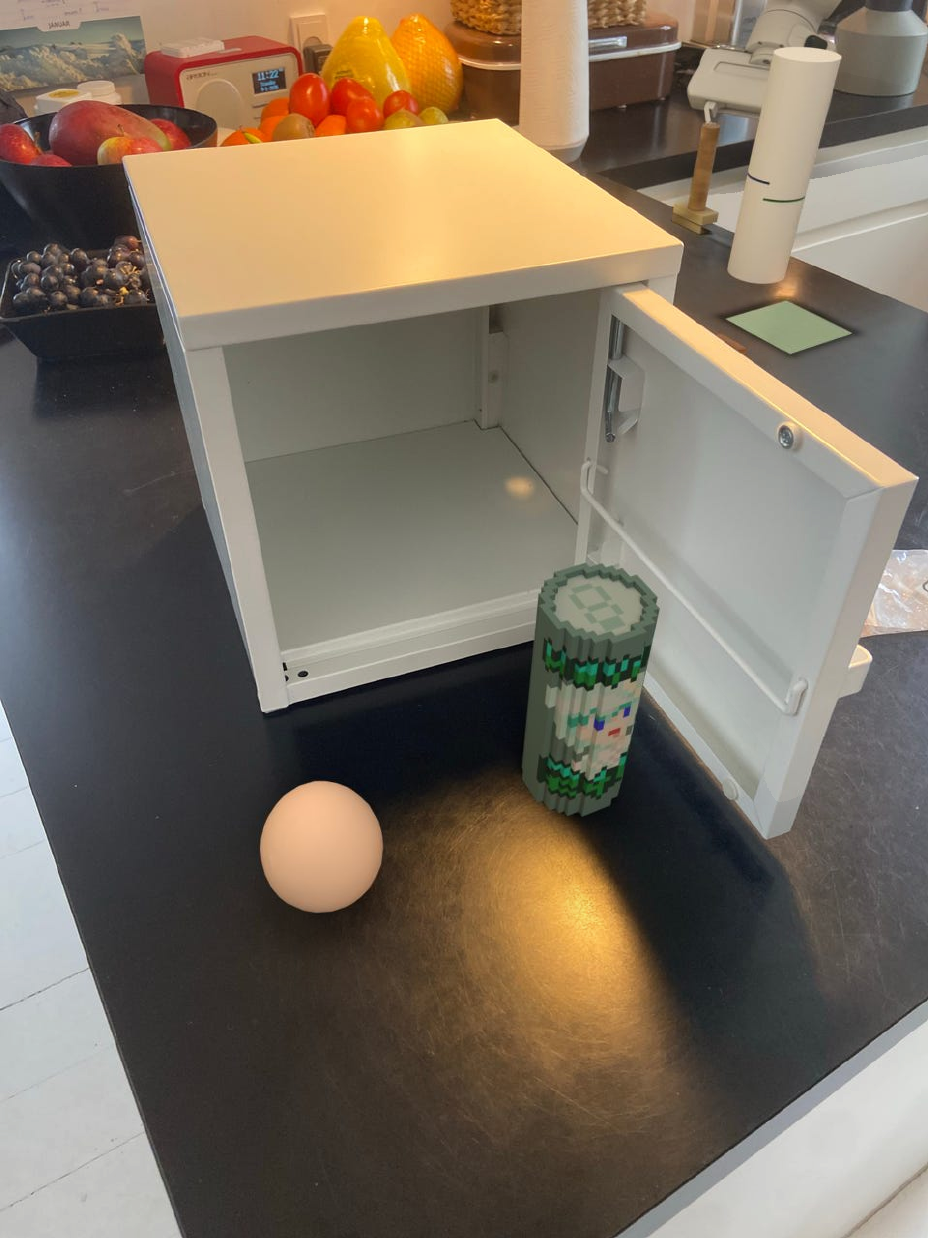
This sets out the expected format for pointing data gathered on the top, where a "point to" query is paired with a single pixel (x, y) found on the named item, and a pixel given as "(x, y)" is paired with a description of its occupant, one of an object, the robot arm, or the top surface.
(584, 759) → the can
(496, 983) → the top surface
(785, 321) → the flat green square plate
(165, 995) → the top surface
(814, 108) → the cylindrical container
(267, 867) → the egg
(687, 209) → the mallet
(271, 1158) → the top surface
